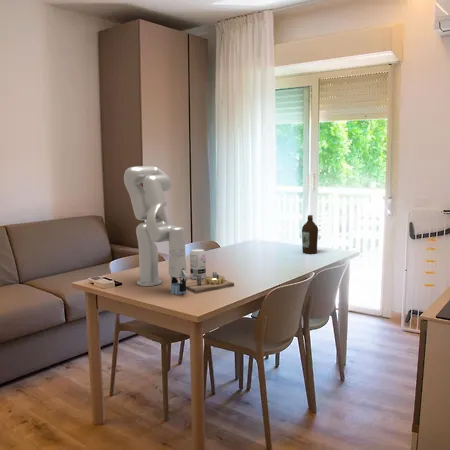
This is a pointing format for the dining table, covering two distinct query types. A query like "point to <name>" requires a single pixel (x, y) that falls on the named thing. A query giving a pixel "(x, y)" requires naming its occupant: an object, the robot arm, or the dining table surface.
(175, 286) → the blue gear
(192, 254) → the supplement can
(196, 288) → the gear board
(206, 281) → the brass drive gear
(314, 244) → the olive oil
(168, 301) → the dining table surface
